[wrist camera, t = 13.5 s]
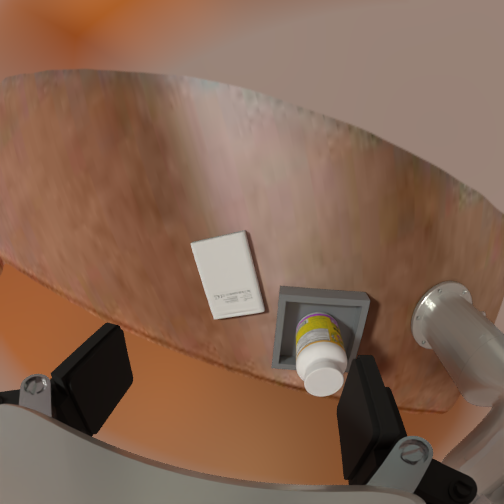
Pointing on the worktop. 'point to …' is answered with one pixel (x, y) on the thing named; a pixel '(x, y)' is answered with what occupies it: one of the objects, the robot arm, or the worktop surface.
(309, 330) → the supplement bottle
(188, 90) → the worktop surface
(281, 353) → the tray
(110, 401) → the robot arm
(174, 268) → the worktop surface
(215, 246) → the external hard drive
